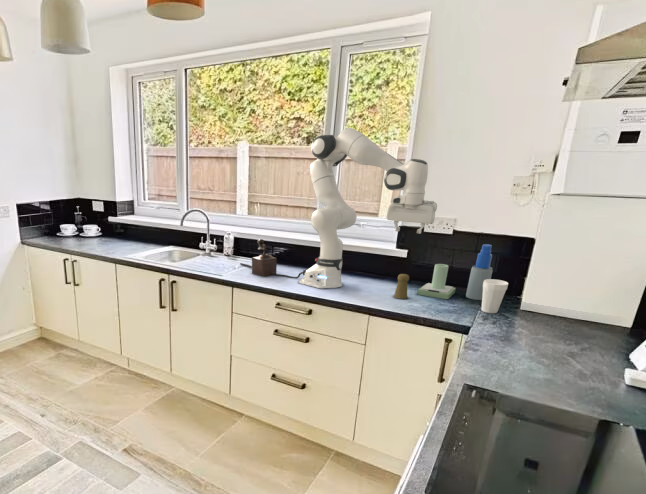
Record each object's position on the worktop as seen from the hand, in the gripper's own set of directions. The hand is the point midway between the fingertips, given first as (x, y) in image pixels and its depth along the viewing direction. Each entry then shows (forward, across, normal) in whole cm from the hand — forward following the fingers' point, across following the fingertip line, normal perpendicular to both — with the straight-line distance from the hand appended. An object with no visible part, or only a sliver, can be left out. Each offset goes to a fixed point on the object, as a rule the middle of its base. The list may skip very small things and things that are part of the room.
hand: (407, 232), depth 203 cm
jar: (+28, -12, -21) cm, 37 cm away
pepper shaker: (+31, 0, -4) cm, 31 cm away
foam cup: (+31, -38, -7) cm, 50 cm away
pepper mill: (+31, +80, -4) cm, 86 cm away
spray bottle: (+31, -29, -26) cm, 50 cm away
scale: (+31, -12, -21) cm, 39 cm away
